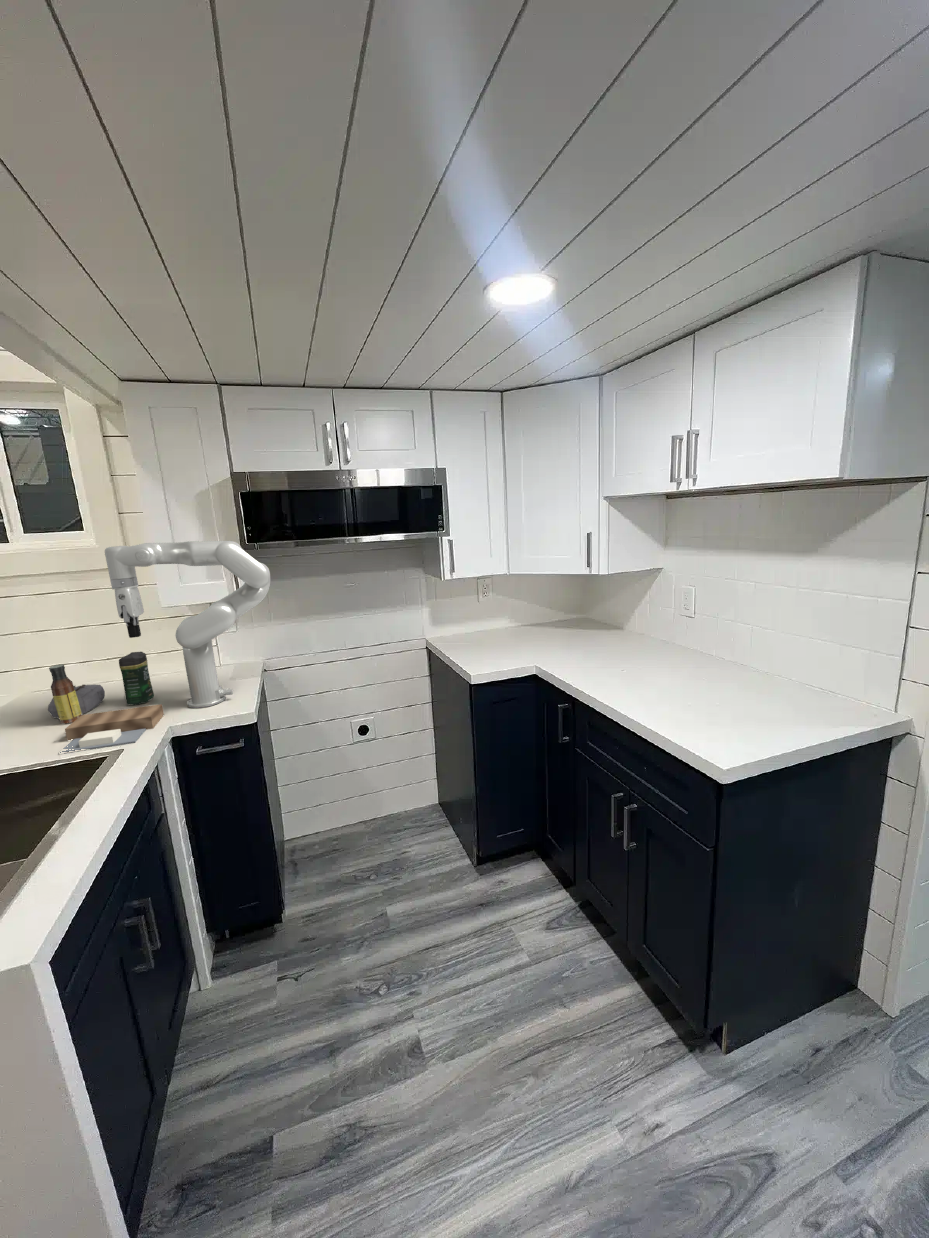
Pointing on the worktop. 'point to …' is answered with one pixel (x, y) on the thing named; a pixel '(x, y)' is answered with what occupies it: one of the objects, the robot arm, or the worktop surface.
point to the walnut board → (115, 721)
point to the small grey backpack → (83, 698)
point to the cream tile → (100, 738)
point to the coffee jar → (136, 678)
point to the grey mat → (125, 738)
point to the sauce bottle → (64, 695)
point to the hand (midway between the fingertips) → (135, 636)
